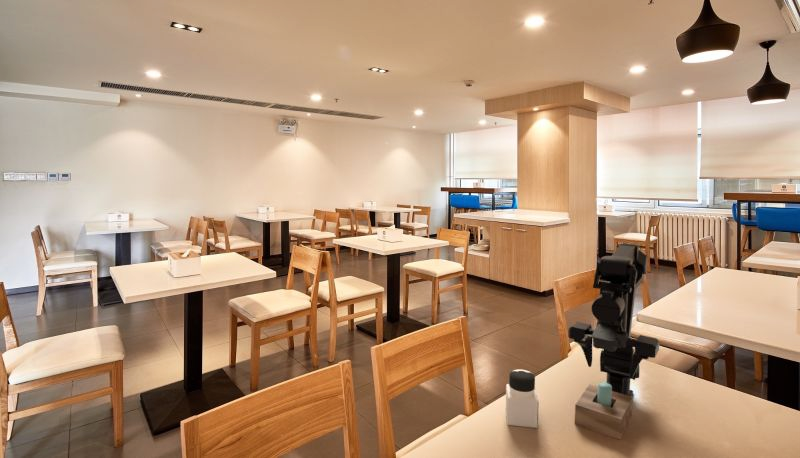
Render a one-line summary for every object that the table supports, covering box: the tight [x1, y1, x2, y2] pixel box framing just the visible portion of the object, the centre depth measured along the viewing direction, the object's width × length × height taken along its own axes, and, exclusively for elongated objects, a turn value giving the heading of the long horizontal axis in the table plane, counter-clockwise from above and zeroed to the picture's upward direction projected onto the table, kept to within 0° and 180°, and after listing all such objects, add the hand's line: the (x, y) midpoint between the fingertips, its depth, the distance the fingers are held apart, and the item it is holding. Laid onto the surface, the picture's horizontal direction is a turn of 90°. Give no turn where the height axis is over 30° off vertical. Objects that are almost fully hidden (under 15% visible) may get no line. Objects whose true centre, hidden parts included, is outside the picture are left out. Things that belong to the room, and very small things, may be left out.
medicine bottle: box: [505, 369, 540, 429], centre depth 100 cm, size 7×7×12 cm
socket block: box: [574, 383, 633, 441], centre depth 100 cm, size 12×10×5 cm
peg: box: [597, 381, 612, 407], centre depth 99 cm, size 3×3×9 cm
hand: (610, 371), depth 98 cm, fingers open, 9 cm apart
